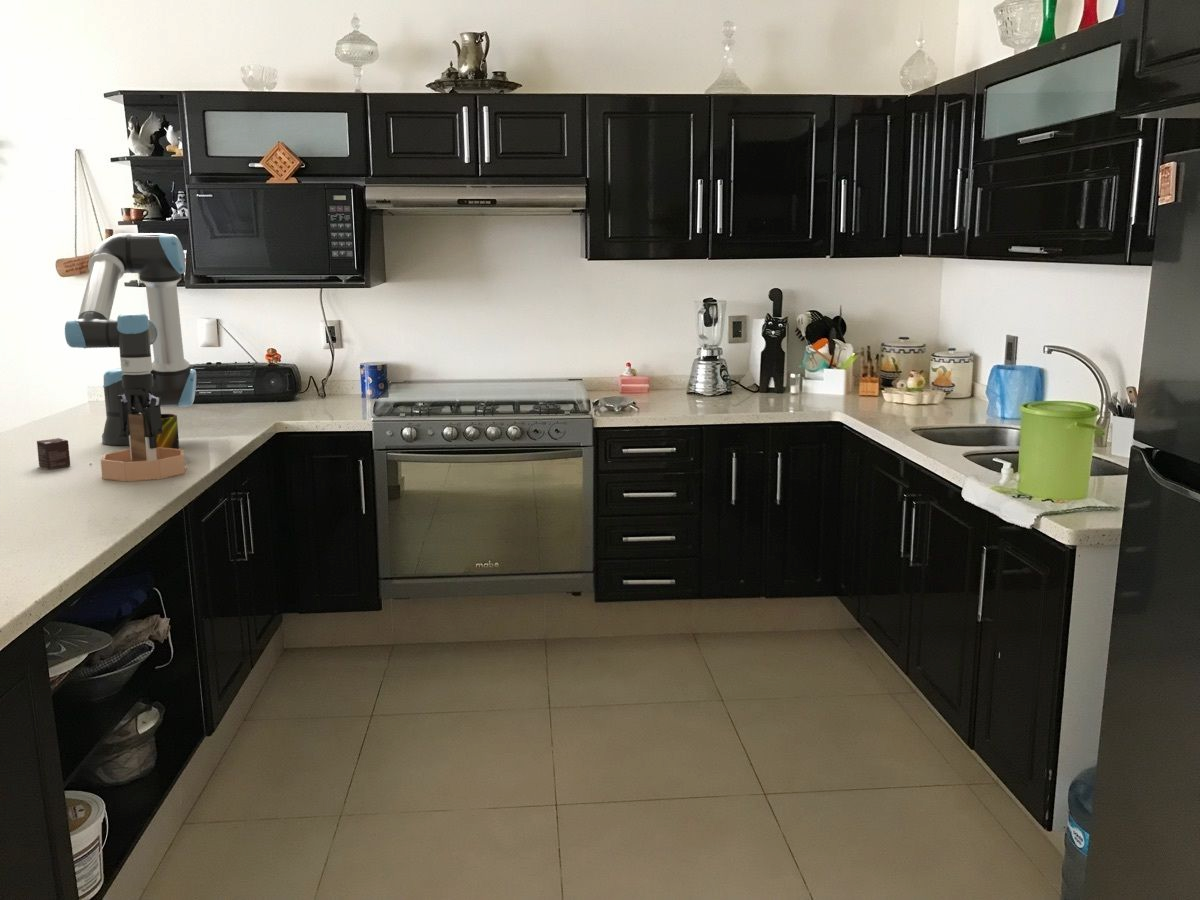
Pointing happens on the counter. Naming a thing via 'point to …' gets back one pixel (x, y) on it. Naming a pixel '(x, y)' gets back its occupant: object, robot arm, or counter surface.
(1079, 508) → the counter surface
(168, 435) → the mug
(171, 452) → the octagonal terracotta bowl
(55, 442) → the box
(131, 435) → the wooden rectangular block
